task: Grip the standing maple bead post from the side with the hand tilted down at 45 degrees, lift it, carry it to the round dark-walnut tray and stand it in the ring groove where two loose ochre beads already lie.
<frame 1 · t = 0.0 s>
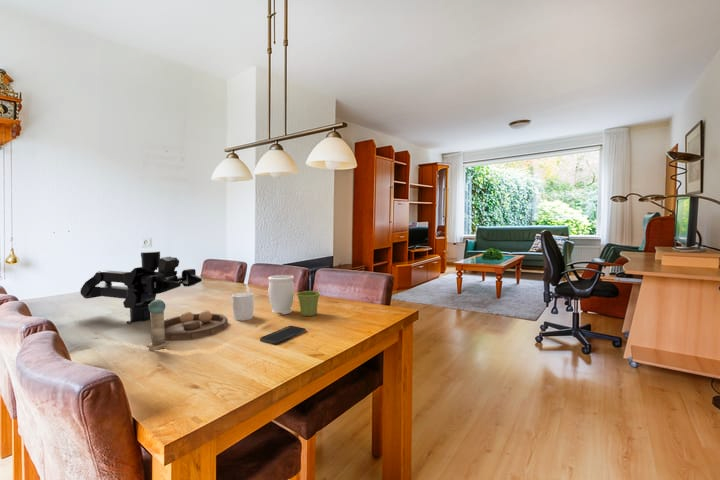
hand: (191, 282, 118), 17 cm above the table, tool horizontal, fingers open, 9 cm apart
plant pot: (308, 314, 136), on the table
loose bead a: (205, 322, 122), point 1 cm above the table, touching walnut tray
walnut tray: (191, 330, 117), on the table
loose bead b: (187, 323, 121), point 1 cm above the table, touching walnut tray
bead post: (158, 347, 102), on the table
phone: (284, 337, 111), on the table
white cup: (243, 320, 129), on the table
jar: (281, 312, 139), on the table
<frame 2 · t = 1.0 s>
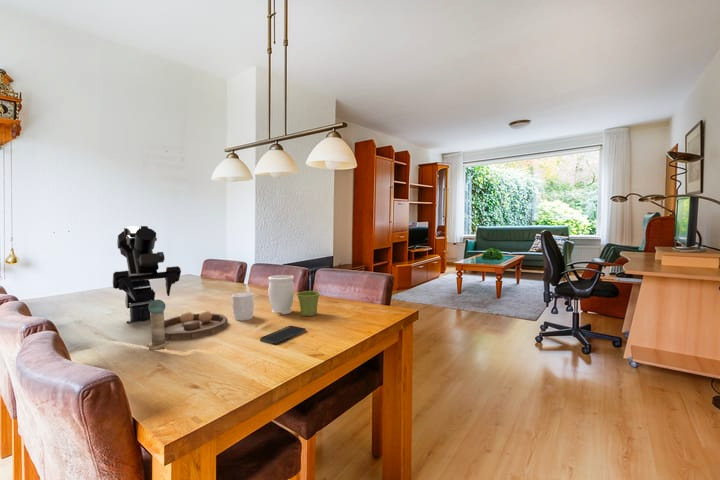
hand: (152, 297, 107), 14 cm above the table, tool tilted 45°, fingers open, 9 cm apart
nothing on the table moved.
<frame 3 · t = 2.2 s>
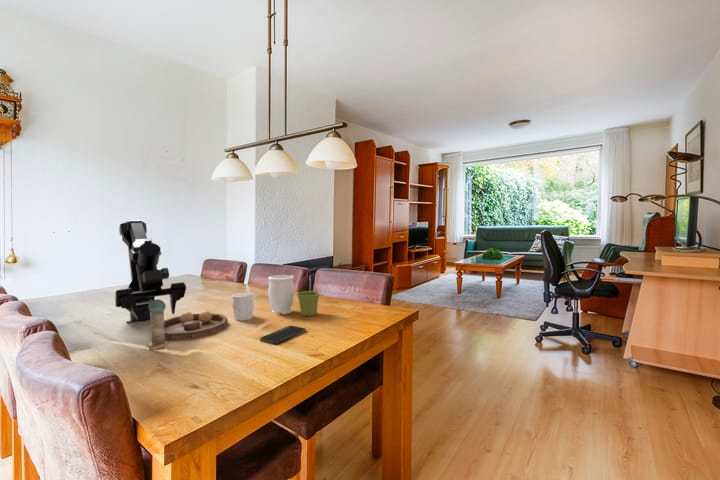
hand: (156, 316, 102), 9 cm above the table, tool tilted 45°, fingers open, 9 cm apart
nothing on the table moved.
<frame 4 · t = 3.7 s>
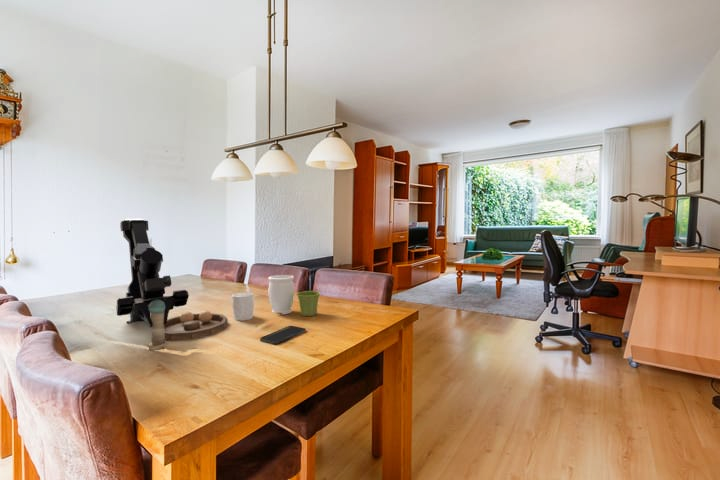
hand: (158, 325, 100), 7 cm above the table, tool tilted 45°, fingers closed on bead post, 3 cm apart
bead post: (158, 347, 102), on the table, touching gripper
everything else where it was.
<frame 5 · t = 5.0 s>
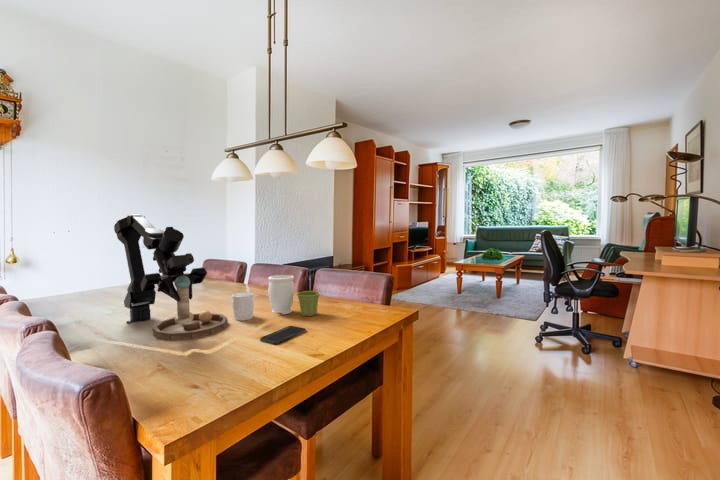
hand: (185, 299, 105), 13 cm above the table, tool tilted 45°, fingers closed on bead post, 3 cm apart
bead post: (183, 321, 107), point 6 cm above the table, touching gripper
everything else where it was.
when the fingers open (9 cm above the table, at t = 6.4 s): bead post drops 1 cm, resting on walnut tray.
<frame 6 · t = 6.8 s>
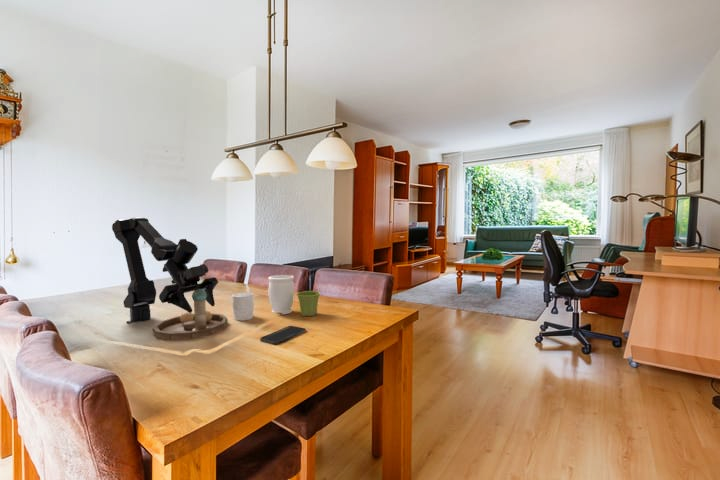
hand: (202, 308, 111), 9 cm above the table, tool tilted 45°, fingers open, 8 cm apart
bead post: (200, 332, 112), point 1 cm above the table, touching walnut tray
everything else where it was.
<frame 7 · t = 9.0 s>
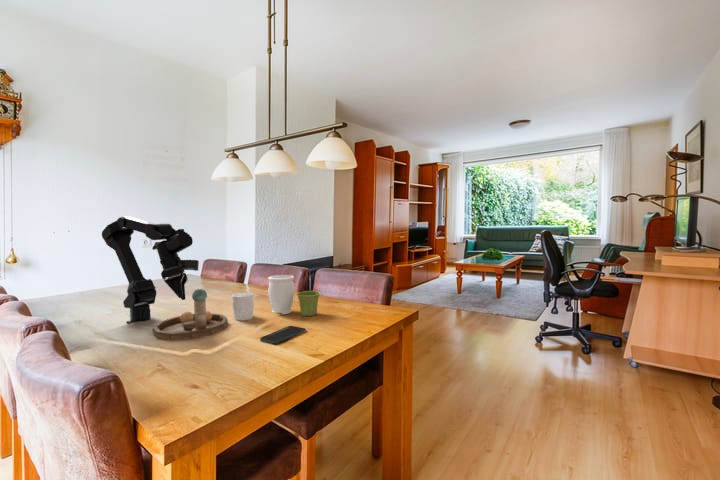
hand: (182, 298, 118), 11 cm above the table, tool tilted 25°, fingers open, 9 cm apart
nothing on the table moved.
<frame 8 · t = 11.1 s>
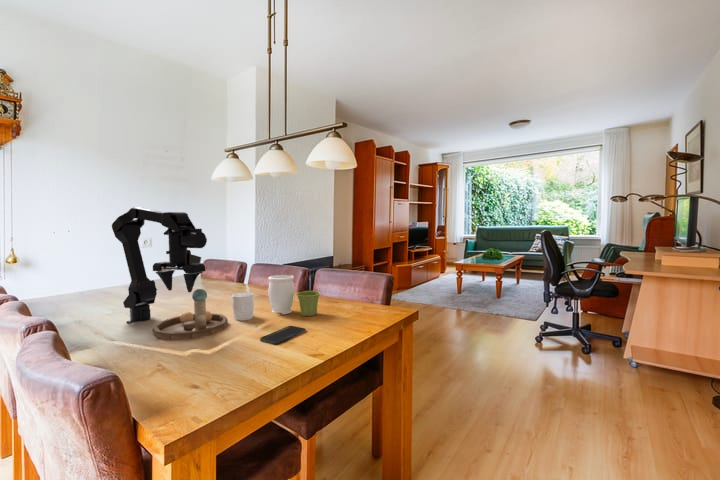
hand: (179, 291, 120), 13 cm above the table, tool pointing down, fingers open, 9 cm apart
nothing on the table moved.
at the end: bead post inside the target area on the walnut tray (0.2 cm from its centre), point 1.0 cm above the walnut tray's base; bead post tilted 0°; the gripper is holding nothing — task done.
